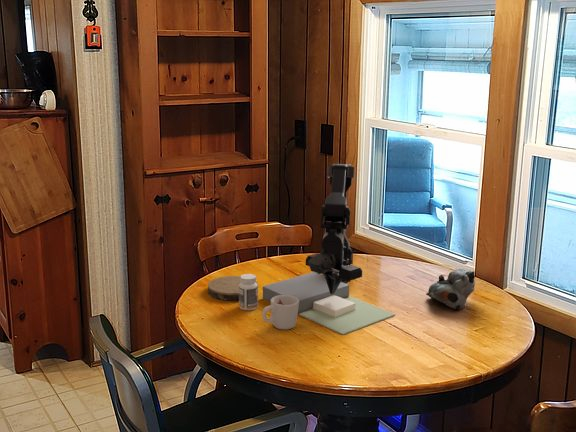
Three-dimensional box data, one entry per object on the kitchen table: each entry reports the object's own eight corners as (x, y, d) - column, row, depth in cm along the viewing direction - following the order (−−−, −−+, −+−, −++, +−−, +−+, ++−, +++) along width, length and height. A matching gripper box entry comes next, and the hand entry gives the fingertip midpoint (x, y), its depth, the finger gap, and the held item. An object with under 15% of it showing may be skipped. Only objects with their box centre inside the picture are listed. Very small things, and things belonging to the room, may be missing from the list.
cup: (268, 336, 190) (269, 308, 188) (256, 325, 196) (256, 298, 194) (303, 329, 194) (304, 302, 192) (290, 318, 201) (290, 293, 199)
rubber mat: (351, 297, 218) (351, 296, 218) (395, 315, 205) (395, 314, 205) (299, 315, 204) (299, 313, 204) (343, 335, 191) (343, 333, 191)
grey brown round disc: (259, 285, 229) (259, 276, 228) (255, 303, 213) (256, 294, 212) (211, 283, 229) (211, 275, 228) (204, 301, 214) (204, 292, 213)
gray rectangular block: (314, 283, 230) (314, 271, 229) (348, 296, 219) (349, 285, 218) (262, 298, 216) (262, 286, 215) (296, 314, 205) (297, 301, 204)
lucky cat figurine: (425, 294, 222) (446, 256, 221) (459, 313, 220) (480, 274, 219) (424, 297, 208) (447, 256, 207) (460, 317, 205) (484, 276, 204)
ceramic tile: (333, 300, 214) (333, 294, 214) (355, 309, 208) (355, 303, 208) (313, 308, 208) (313, 302, 208) (335, 317, 202) (335, 310, 201)
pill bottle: (259, 304, 212) (259, 273, 209) (256, 311, 206) (256, 280, 204) (240, 303, 212) (240, 272, 210) (237, 310, 207) (237, 279, 204)
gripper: (292, 241, 206) (291, 290, 210) (337, 256, 192) (335, 309, 196) (319, 234, 213) (318, 282, 217) (364, 249, 199) (362, 300, 203)
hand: (332, 293), depth 208 cm, fingers closed
